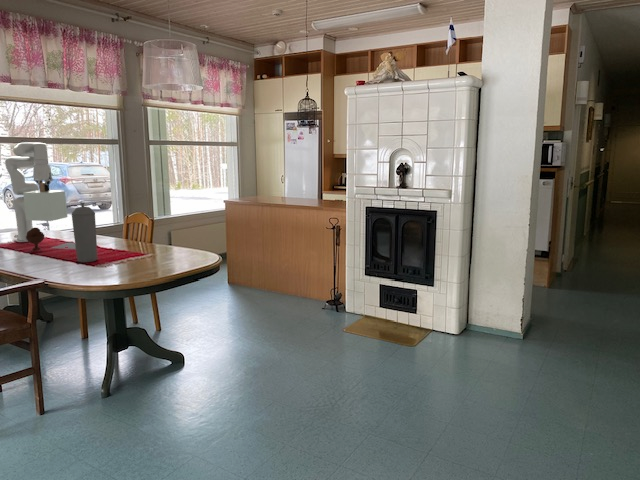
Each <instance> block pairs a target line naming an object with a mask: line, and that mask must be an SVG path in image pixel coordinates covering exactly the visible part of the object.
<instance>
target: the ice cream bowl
mask: <svg viewBox="0 0 640 480" xmlns="http://www.w3.org/2000/svg"><path fill="white" fill-rule="evenodd" d="M26 239H27V240H28V241H29V243H30V244H34V247H33V248H32V249H31V250H32V251H39V250H42V248H41V247H39V245H38V244H40V243H42V242H43V241H44V240H45V234H44V232H42V231H41V229H40V228H38V227H33V228H32V229H31V230H29V231H28V232H27V236H26Z"/></svg>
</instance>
